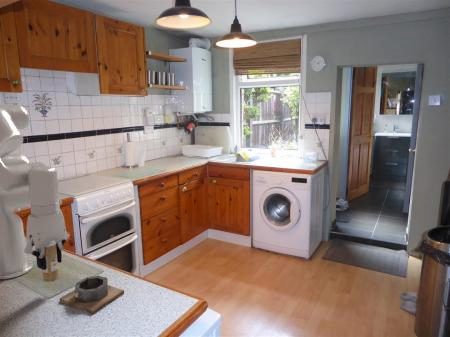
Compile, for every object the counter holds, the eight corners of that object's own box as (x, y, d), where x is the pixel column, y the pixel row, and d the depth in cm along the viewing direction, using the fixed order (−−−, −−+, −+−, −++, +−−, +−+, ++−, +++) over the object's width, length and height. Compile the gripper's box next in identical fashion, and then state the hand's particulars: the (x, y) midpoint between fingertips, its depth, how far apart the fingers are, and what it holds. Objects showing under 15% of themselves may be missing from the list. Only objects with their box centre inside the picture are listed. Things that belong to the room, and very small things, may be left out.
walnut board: (59, 301, 99) (59, 298, 98) (92, 282, 109) (92, 279, 109) (93, 314, 92) (92, 311, 92) (124, 293, 103) (123, 290, 103)
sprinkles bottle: (60, 280, 102) (57, 239, 99) (43, 284, 99) (39, 242, 97) (58, 273, 106) (55, 234, 103) (42, 277, 103) (38, 237, 100)
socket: (66, 299, 98) (65, 288, 97) (96, 282, 107) (95, 272, 107) (88, 307, 94) (87, 296, 93) (116, 289, 103) (115, 278, 103)
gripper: (62, 199, 107) (65, 251, 111) (8, 214, 92) (14, 273, 96) (78, 203, 104) (81, 256, 107) (25, 219, 89) (31, 280, 92)
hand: (49, 264), depth 101 cm, fingers closed on sprinkles bottle, 4 cm apart
